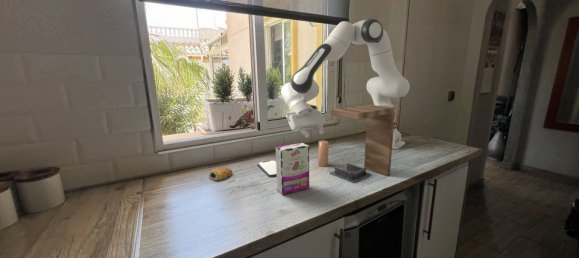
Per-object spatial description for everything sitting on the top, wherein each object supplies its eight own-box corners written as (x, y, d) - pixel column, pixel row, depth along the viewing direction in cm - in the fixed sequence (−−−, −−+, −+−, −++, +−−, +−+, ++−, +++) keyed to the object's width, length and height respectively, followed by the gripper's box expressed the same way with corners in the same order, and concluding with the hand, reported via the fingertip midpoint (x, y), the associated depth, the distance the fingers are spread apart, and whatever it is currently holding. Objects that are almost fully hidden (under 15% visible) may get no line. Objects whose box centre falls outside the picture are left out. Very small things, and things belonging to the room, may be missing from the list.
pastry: (225, 171, 111) (225, 163, 110) (236, 175, 107) (235, 166, 107) (207, 178, 104) (206, 169, 103) (218, 182, 100) (217, 173, 99)
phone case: (288, 175, 107) (274, 163, 122) (288, 171, 107) (274, 159, 121) (269, 179, 104) (256, 166, 118) (269, 175, 103) (256, 162, 117)
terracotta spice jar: (322, 162, 121) (323, 140, 118) (330, 165, 117) (330, 141, 115) (316, 164, 118) (316, 141, 116) (323, 167, 114) (323, 143, 112)
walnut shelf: (364, 167, 115) (368, 104, 109) (389, 174, 106) (395, 107, 100) (328, 181, 100) (330, 109, 94) (354, 192, 91) (358, 113, 85)
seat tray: (347, 167, 115) (347, 161, 114) (370, 175, 106) (371, 169, 105) (329, 173, 107) (329, 168, 107) (353, 183, 98) (353, 176, 98)
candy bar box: (302, 183, 98) (302, 142, 94) (309, 188, 93) (310, 145, 90) (275, 190, 93) (275, 146, 89) (282, 195, 88) (281, 149, 85)
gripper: (287, 109, 115) (302, 134, 110) (319, 105, 128) (333, 128, 123) (281, 118, 119) (295, 142, 114) (312, 113, 132) (326, 135, 127)
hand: (315, 134), depth 119 cm, fingers open, 8 cm apart
